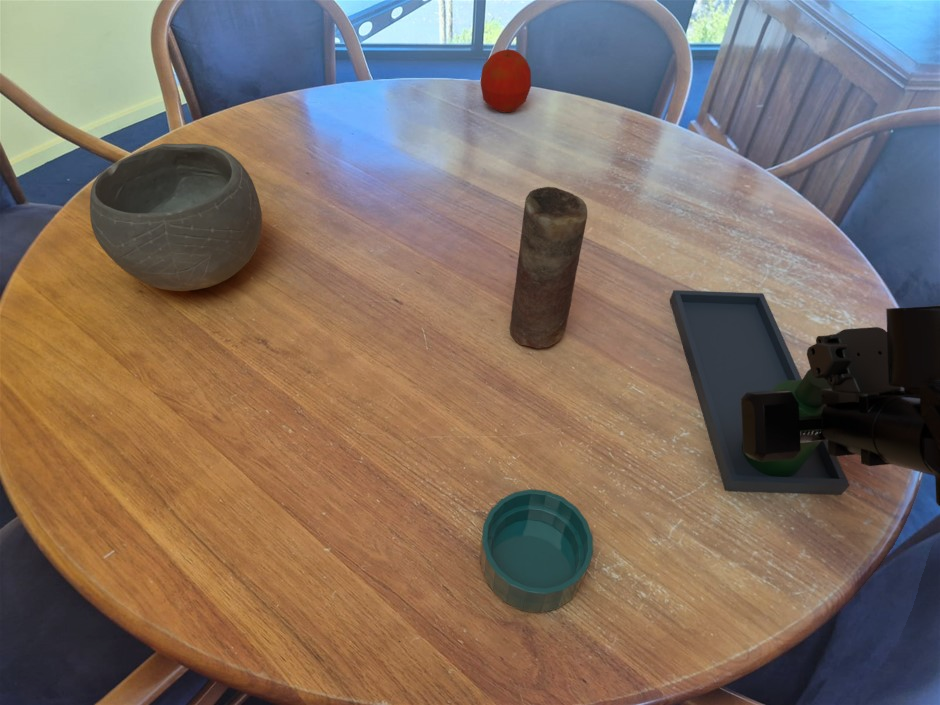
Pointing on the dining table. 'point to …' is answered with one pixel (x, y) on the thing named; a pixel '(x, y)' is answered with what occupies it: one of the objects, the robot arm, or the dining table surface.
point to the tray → (743, 384)
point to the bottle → (809, 405)
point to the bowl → (177, 215)
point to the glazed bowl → (535, 550)
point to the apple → (505, 80)
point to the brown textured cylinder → (547, 265)
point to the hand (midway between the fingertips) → (788, 408)
